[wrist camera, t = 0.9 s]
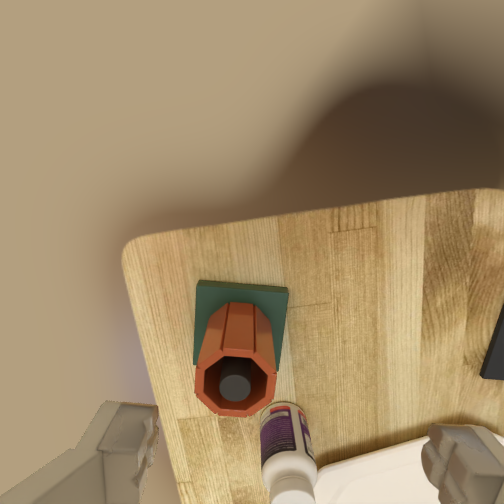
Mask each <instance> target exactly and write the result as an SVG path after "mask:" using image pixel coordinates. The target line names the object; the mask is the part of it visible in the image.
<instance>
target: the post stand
mask: <svg viewBox="0 0 504 504" xmlns="http://www.w3.org/2000/svg"><path fill="white" fill-rule="evenodd" d="M288 296H289V293H288V289H287V288H286V287H274V286H263V285H251V284H239V283H227V282H215V281H204V280H199V281H198V284H197V287H196V309H195V330H194V352H193V365H197V362H198V358H199V354H200V350H201V347H202V343H203V339H204V335H205V332H206V328H207V324H208V320H209V318H210V316H211V315H212V314H214V313H215V312H216V311H217V310H219V309H220V308H221V307H223V306H224V305H225V304H226V303H228V304H229V305H230V302H238V303H250V304H253V306H255V305H256V306H257V307H258V308H259V309H260V310H261V311H262V312H263V314H264V315H265V316H266V317H267V318H268V319H269V320H270V323H271V328H272V337H273V346H274V354H275V363H276V371H277V372H278V371H279V363H280V356H281V348H282V341H283V333H284V326H285V318H286V311H287V304H288ZM219 390H220V393H221V395H222V396H223V397H224V398H225V399H227V400H229V401H241V400H243V399H245V398H246V397H247V396H248V395H249V393H250V391H251V358H246V357H233V356H223V363H222V370H221V377H220V385H219Z"/></svg>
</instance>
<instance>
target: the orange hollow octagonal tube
mask: <svg viewBox="0 0 504 504" xmlns="http://www.w3.org/2000/svg"><path fill="white" fill-rule="evenodd" d="M223 356H233V357H246V358H251V391H250V393H249V395H248V396H247V397H246V398H245V399H243V400H241V401H229V400H227V399H225V398H224V397H223V396H222V395H221V393H220V390H219V385H220V377H221V370H222V363H223ZM276 378H277V371H276V363H275V354H274V346H273V337H272V328H271V323H270V320H269V319H268V318H267V317H266V316H265V315H264V314H263V312H262V311H261V310H260V309H259V308H258V307H257V306H256V305H255V306H253V304H250V303H238V302H230V305H229V304H228V303H226V304H225V305H224V306H223V307H221V308H220V309H219V310H217V311H216V312H215V313H214V314H212V315H211V316H210V318H209V320H208V324H207V328H206V332H205V335H204V339H203V343H202V347H201V350H200V354H199V358H198V362H197V365H196V371H195V392H194V393H196V397H197V398H198V399H200V400H201V401H202V402H203V403H204V404H205V405H206V406H207V407H208V408H209V409H210V410H211V411H212V412H213V413H214V414H216V413H218V415H219V416H231V417H245V418H246V417H247V415H248V416H252V415H253V414H255V413H256V412H258V411H259V410H260V409H262V408H263V407H265V406H266V405H268V404H269V403H271V402H272V399H274V393H275V386H276Z"/></svg>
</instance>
